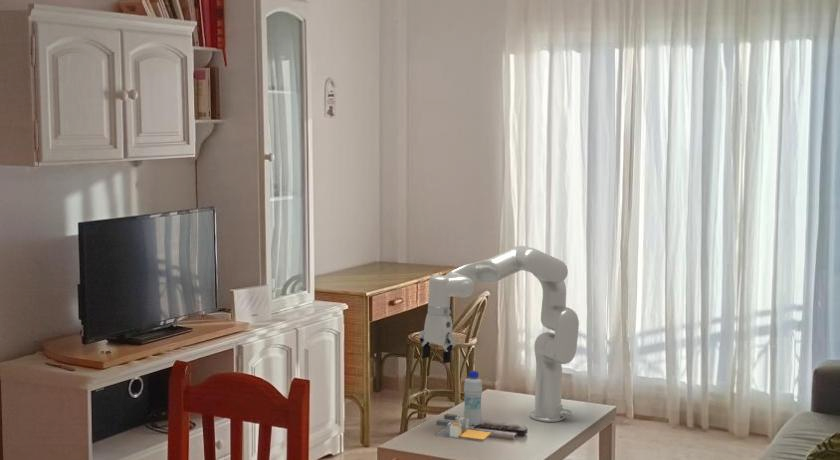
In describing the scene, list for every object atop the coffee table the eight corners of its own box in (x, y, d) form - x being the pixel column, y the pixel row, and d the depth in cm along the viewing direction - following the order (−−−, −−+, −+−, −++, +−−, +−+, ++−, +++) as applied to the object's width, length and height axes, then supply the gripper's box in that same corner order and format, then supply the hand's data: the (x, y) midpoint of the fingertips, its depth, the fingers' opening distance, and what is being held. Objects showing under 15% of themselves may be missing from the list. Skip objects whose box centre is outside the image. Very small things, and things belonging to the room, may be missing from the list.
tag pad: (491, 433, 355) (491, 432, 355) (483, 440, 347) (483, 439, 347) (467, 430, 358) (467, 429, 358) (459, 436, 350) (459, 436, 350)
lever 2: (459, 419, 360) (459, 415, 360) (457, 420, 357) (457, 417, 357) (446, 417, 362) (446, 413, 362) (443, 419, 359) (444, 415, 359)
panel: (493, 434, 357) (494, 419, 357) (482, 444, 345) (482, 428, 344) (447, 428, 363) (447, 413, 363) (434, 438, 351) (435, 422, 351)
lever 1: (452, 425, 352) (452, 421, 352) (449, 427, 350) (449, 423, 350) (438, 423, 354) (438, 419, 354) (436, 425, 352) (436, 421, 352)
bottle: (483, 424, 369) (485, 369, 367) (478, 429, 362) (480, 374, 360) (465, 422, 371) (467, 368, 369) (460, 427, 365) (461, 372, 363)
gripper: (464, 314, 352) (462, 363, 353) (428, 306, 364) (425, 354, 365) (449, 316, 346) (447, 366, 348) (413, 308, 358) (411, 356, 360)
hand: (436, 360), depth 356 cm, fingers open, 9 cm apart
